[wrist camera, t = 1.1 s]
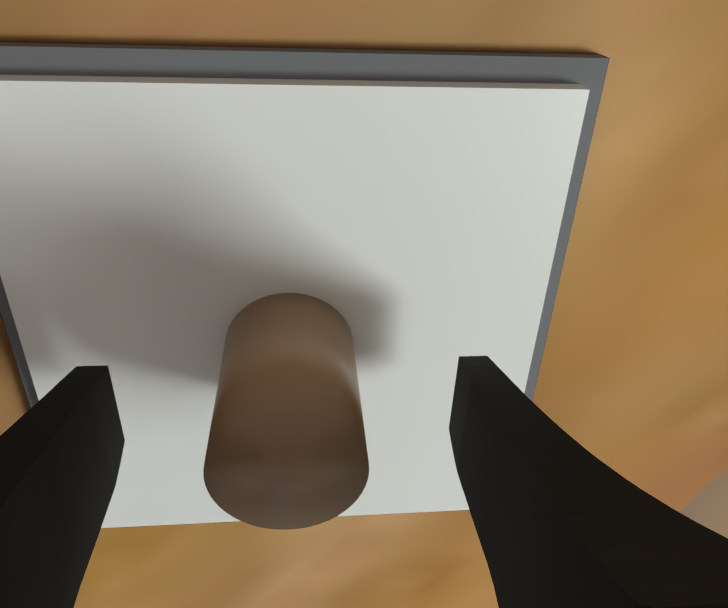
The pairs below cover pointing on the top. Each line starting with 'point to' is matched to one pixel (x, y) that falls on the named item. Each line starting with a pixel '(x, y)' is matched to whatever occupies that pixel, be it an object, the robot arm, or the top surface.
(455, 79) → the mat
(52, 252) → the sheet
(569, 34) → the top surface
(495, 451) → the robot arm
